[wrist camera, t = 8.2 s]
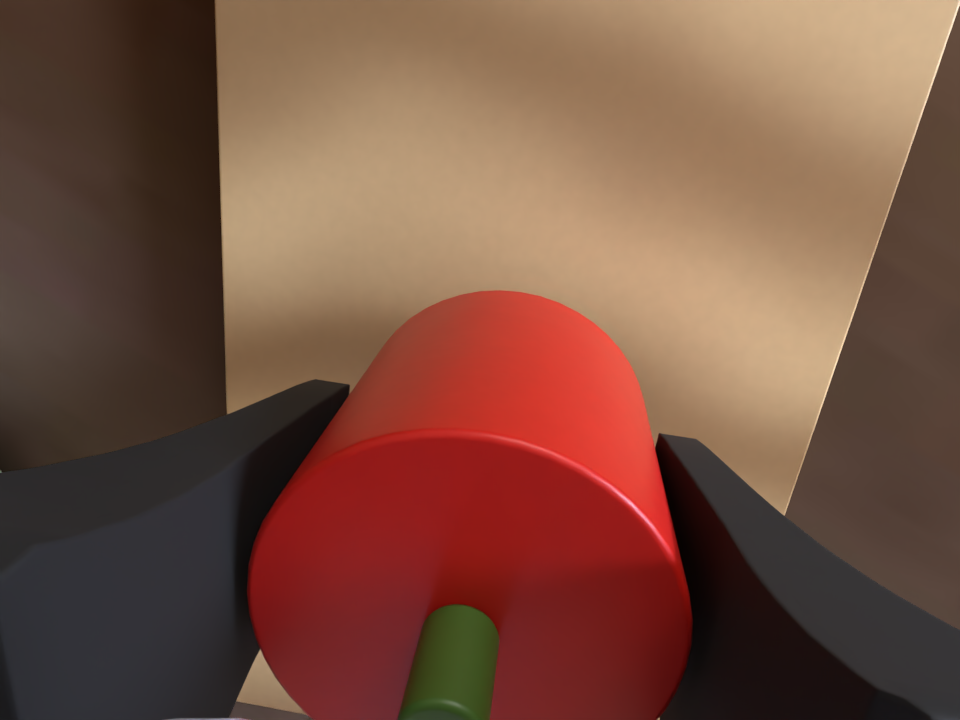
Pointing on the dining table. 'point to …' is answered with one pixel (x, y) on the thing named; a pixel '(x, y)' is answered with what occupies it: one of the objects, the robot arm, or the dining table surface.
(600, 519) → the pepper
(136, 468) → the robot arm
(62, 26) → the dining table surface
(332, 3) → the cutting board
